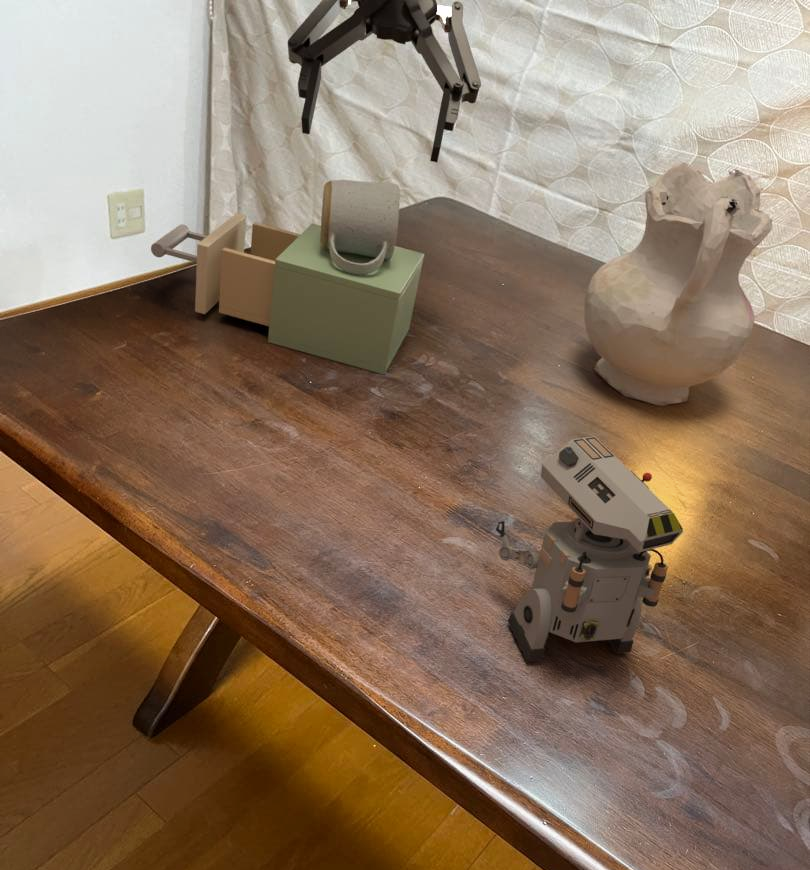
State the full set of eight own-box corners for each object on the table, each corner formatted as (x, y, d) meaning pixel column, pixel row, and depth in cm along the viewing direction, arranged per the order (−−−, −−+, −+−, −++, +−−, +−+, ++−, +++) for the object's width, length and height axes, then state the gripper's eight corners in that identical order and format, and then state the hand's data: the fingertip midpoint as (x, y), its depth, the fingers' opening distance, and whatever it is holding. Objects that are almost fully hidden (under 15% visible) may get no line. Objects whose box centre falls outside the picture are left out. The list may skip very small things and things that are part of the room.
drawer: (141, 296, 97) (141, 228, 92) (184, 263, 106) (185, 198, 101) (301, 341, 96) (309, 274, 91) (330, 303, 105) (339, 240, 100)
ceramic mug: (317, 232, 98) (325, 163, 93) (388, 243, 99) (400, 175, 94) (317, 272, 90) (326, 198, 85) (394, 283, 91) (408, 211, 86)
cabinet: (267, 342, 96) (275, 259, 90) (302, 300, 106) (311, 223, 100) (384, 374, 95) (400, 293, 89) (409, 329, 105) (424, 253, 99)
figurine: (576, 570, 75) (636, 424, 65) (636, 670, 66) (716, 519, 57) (479, 575, 72) (528, 423, 62) (530, 680, 64) (595, 523, 54)
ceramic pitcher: (734, 452, 99) (860, 243, 84) (575, 413, 95) (677, 189, 80) (686, 363, 116) (784, 176, 100) (549, 328, 112) (630, 129, 97)
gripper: (289, -103, 87) (246, 91, 84) (529, -46, 88) (495, 146, 86) (292, -45, 94) (254, 135, 92) (514, 6, 96) (482, 184, 93)
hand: (370, 141), depth 89 cm, fingers open, 13 cm apart
